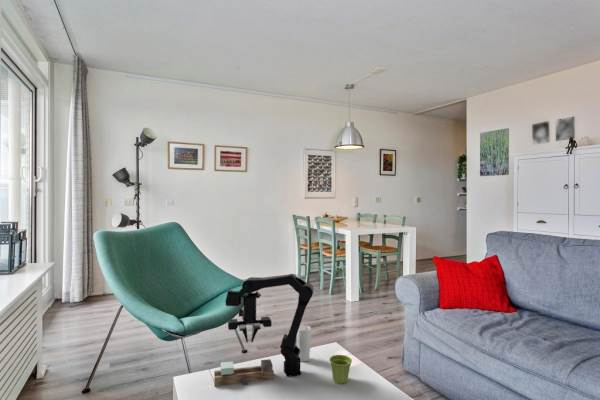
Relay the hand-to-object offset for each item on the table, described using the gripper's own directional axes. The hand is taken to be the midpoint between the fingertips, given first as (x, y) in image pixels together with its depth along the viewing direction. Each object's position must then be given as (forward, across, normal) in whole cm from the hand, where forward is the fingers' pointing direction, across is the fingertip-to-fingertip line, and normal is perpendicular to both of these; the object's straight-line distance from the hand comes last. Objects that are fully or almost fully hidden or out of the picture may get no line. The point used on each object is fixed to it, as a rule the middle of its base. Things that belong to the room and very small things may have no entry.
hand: (249, 342), depth 157 cm
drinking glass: (+12, -26, -4) cm, 29 cm away
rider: (+10, +10, +8) cm, 16 cm away
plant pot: (+12, -36, +18) cm, 42 cm away
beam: (+12, +3, +8) cm, 15 cm away
